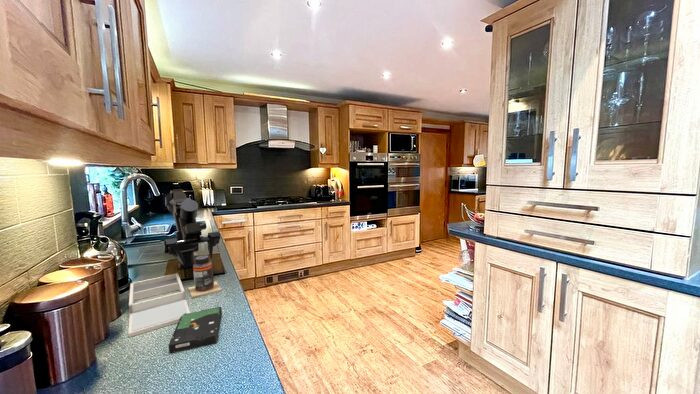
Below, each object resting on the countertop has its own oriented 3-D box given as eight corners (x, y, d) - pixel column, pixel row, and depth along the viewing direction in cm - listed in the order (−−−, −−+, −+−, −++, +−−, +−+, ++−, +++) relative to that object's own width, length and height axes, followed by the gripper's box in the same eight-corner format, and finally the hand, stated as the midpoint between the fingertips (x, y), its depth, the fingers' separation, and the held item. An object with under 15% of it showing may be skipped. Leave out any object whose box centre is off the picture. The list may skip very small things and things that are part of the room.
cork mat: (188, 289, 98) (188, 287, 98) (216, 282, 103) (215, 280, 103) (192, 298, 91) (192, 296, 90) (221, 290, 96) (221, 289, 96)
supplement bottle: (205, 283, 101) (202, 253, 99) (218, 285, 99) (215, 255, 97) (191, 290, 95) (188, 258, 94) (204, 293, 93) (201, 260, 92)
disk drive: (218, 345, 68) (222, 314, 81) (217, 334, 67) (221, 305, 81) (168, 356, 64) (181, 322, 78) (167, 345, 64) (180, 312, 77)
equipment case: (131, 292, 96) (130, 283, 95) (178, 282, 104) (177, 273, 104) (128, 337, 70) (127, 324, 70) (191, 318, 79) (190, 306, 78)
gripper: (161, 217, 98) (168, 255, 91) (217, 211, 110) (227, 244, 103) (160, 235, 105) (167, 271, 98) (213, 227, 117) (223, 259, 110)
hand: (197, 260), depth 102 cm, fingers open, 9 cm apart
